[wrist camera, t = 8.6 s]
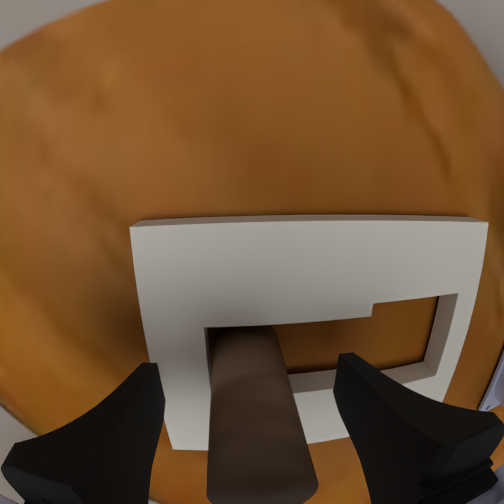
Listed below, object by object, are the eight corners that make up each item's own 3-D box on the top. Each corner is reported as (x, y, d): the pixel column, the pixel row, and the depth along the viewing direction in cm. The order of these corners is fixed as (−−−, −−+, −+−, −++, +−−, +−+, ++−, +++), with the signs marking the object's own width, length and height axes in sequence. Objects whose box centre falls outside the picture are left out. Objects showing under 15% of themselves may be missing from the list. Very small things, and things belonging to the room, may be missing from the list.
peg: (278, 316, 14) (325, 458, 6) (277, 369, 15) (311, 508, 7) (211, 319, 14) (199, 468, 6) (216, 372, 14) (212, 516, 7)
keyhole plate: (469, 217, 13) (488, 222, 12) (427, 399, 16) (437, 412, 15) (140, 220, 12) (129, 227, 11) (176, 430, 15) (172, 449, 14)
